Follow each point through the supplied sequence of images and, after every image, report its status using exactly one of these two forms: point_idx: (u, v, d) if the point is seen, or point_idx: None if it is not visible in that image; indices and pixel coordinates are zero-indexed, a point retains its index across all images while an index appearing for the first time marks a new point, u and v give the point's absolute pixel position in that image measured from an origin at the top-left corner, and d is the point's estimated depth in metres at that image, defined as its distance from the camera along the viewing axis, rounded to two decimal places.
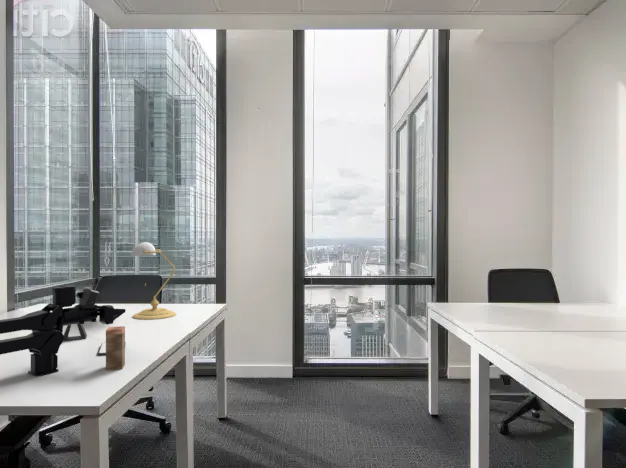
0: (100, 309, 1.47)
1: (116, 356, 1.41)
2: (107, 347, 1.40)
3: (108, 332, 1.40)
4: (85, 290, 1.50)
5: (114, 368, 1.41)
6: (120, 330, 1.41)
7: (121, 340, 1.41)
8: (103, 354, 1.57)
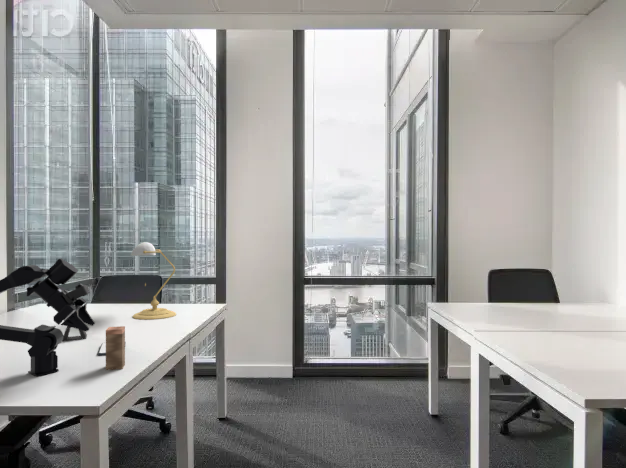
0: (66, 305, 1.35)
1: (116, 356, 1.41)
2: (107, 347, 1.40)
3: (108, 332, 1.40)
4: None
5: (114, 368, 1.41)
6: (120, 330, 1.41)
7: (121, 340, 1.41)
8: (103, 354, 1.57)
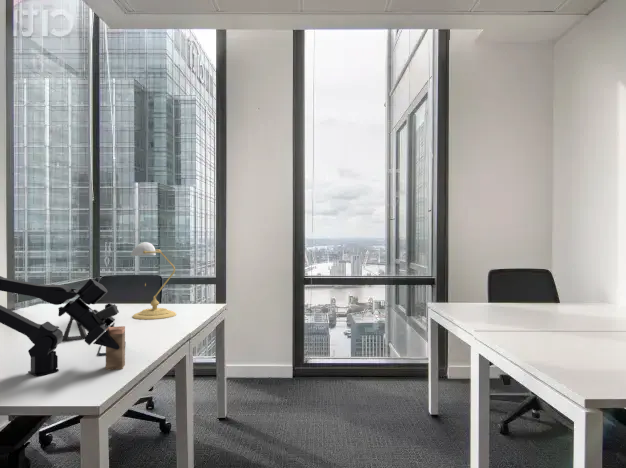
0: (96, 325, 1.36)
1: (116, 356, 1.41)
2: (107, 347, 1.40)
3: None
4: (113, 305, 1.44)
5: (114, 368, 1.41)
6: (120, 330, 1.41)
7: (121, 340, 1.41)
8: (103, 354, 1.57)
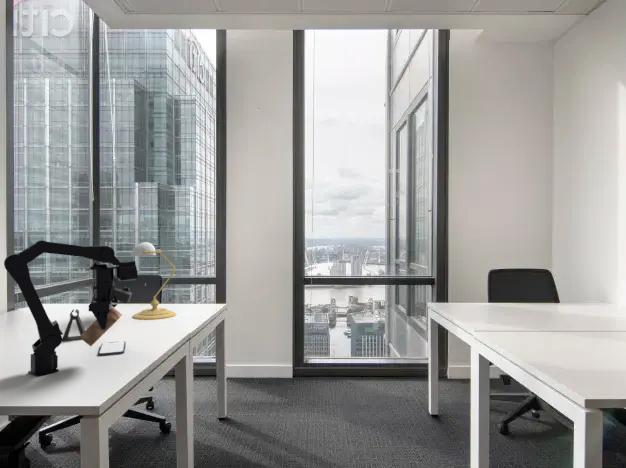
0: (107, 300, 1.43)
1: (95, 333, 1.46)
2: (97, 321, 1.46)
3: None
4: (130, 292, 1.52)
5: (86, 341, 1.45)
6: (117, 317, 1.47)
7: (111, 325, 1.47)
8: (103, 354, 1.57)
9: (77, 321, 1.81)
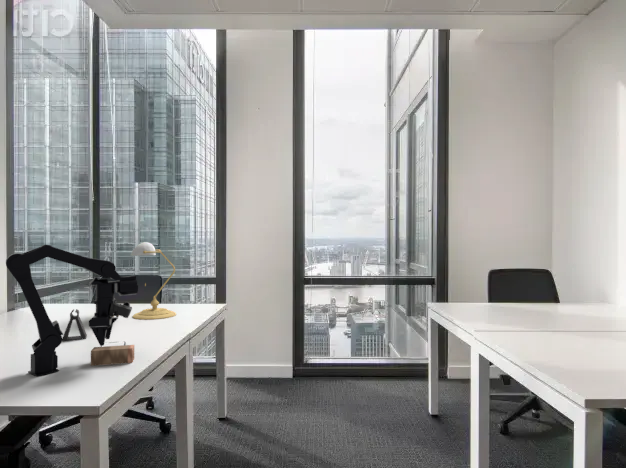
0: (107, 315, 1.43)
1: (104, 359, 1.46)
2: (114, 350, 1.47)
3: (130, 351, 1.48)
4: (130, 307, 1.52)
5: (91, 358, 1.45)
6: (131, 361, 1.48)
7: (120, 362, 1.48)
8: None
9: (77, 321, 1.81)
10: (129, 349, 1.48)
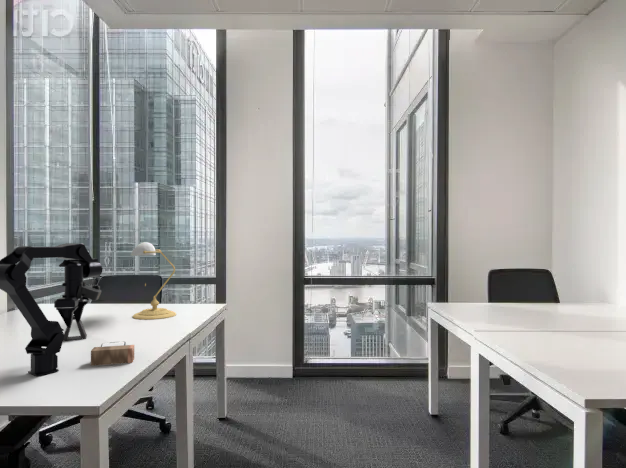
0: (73, 297, 1.44)
1: (104, 359, 1.46)
2: (114, 350, 1.47)
3: (130, 351, 1.48)
4: (99, 290, 1.52)
5: (91, 358, 1.45)
6: (131, 361, 1.48)
7: (120, 362, 1.48)
8: None
9: None
10: (129, 349, 1.48)
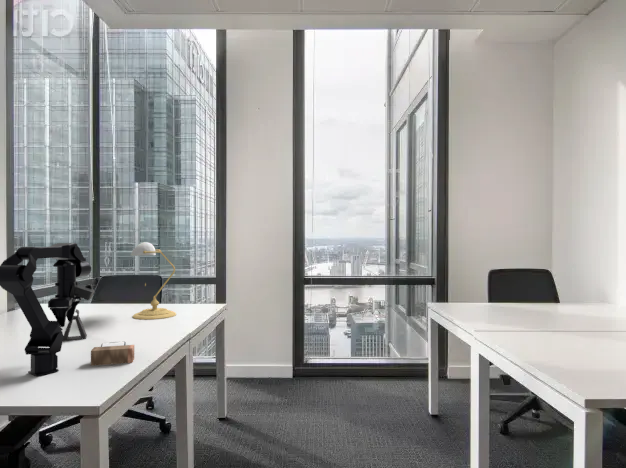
0: (67, 297, 1.44)
1: (104, 359, 1.46)
2: (114, 350, 1.47)
3: (130, 351, 1.48)
4: (92, 290, 1.53)
5: (92, 358, 1.45)
6: (131, 361, 1.48)
7: (120, 362, 1.48)
8: None
9: (77, 321, 1.81)
10: (129, 349, 1.48)
